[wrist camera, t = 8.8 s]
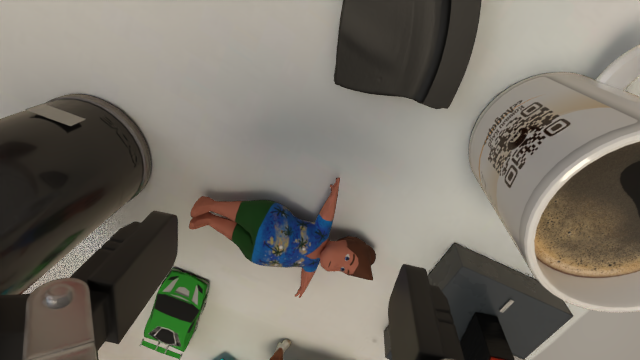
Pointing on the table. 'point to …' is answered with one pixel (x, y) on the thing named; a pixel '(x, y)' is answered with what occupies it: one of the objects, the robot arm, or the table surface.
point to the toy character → (286, 236)
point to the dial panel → (496, 300)
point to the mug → (569, 180)
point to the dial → (485, 339)
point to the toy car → (176, 312)
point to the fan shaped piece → (406, 47)
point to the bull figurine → (281, 350)
